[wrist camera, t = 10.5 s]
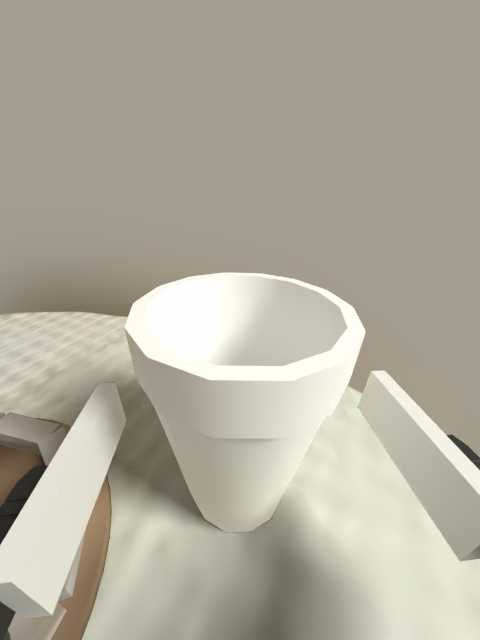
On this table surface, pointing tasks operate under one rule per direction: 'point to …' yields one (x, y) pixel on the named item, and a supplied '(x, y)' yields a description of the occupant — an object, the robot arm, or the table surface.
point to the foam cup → (242, 382)
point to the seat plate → (88, 565)
